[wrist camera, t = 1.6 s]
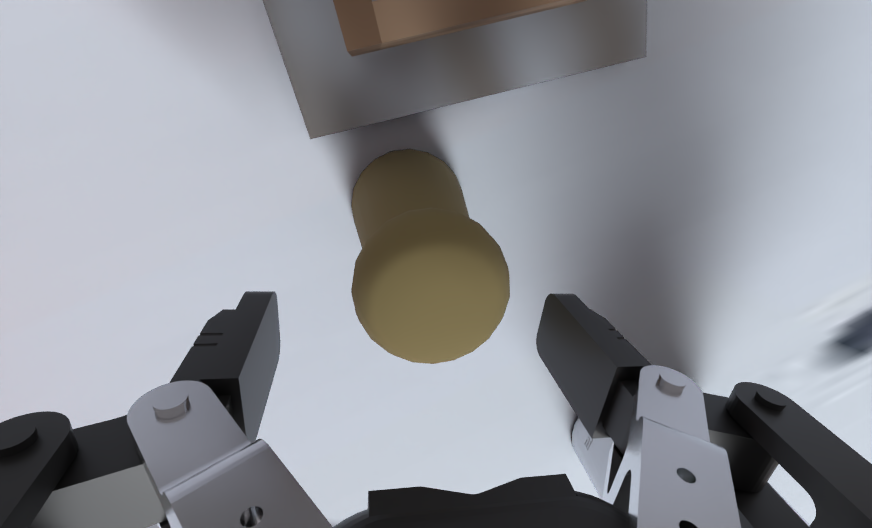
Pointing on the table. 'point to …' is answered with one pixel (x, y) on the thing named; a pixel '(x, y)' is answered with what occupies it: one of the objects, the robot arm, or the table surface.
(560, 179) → the table surface
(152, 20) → the table surface
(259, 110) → the table surface
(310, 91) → the socket block
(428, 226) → the cork
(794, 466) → the robot arm
